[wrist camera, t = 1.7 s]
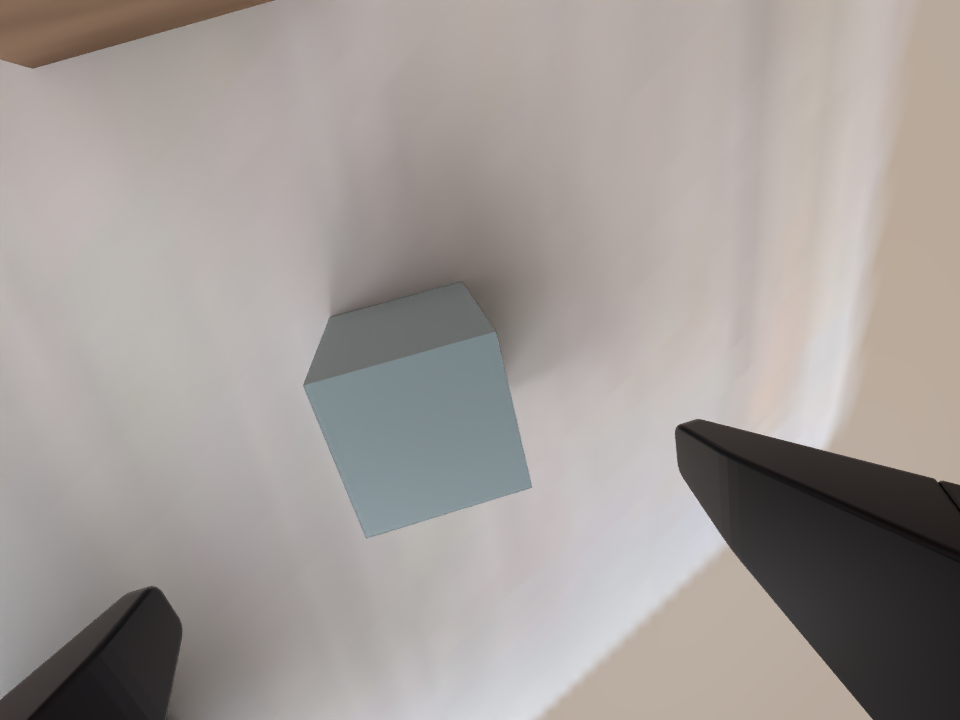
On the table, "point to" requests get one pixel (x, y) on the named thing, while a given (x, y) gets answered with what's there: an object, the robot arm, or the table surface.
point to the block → (417, 408)
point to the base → (94, 24)
